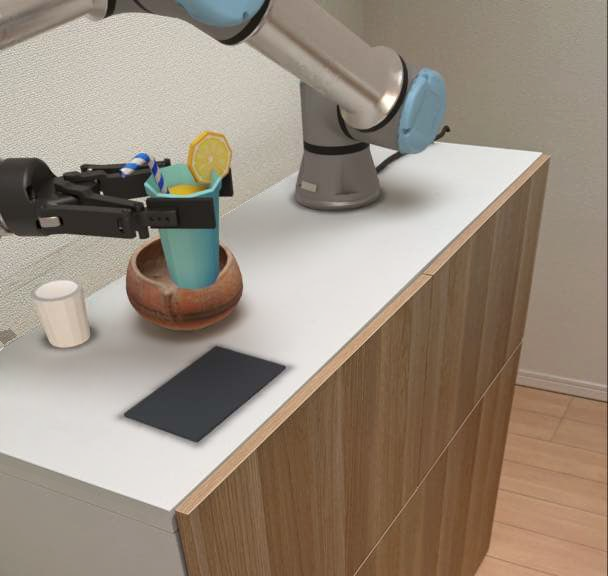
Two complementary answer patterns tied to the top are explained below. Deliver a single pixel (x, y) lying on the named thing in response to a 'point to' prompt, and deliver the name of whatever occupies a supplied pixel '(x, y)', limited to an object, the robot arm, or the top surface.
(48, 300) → the shot glass
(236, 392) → the placemat
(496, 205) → the top surface
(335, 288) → the top surface
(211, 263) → the cup
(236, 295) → the bowl
